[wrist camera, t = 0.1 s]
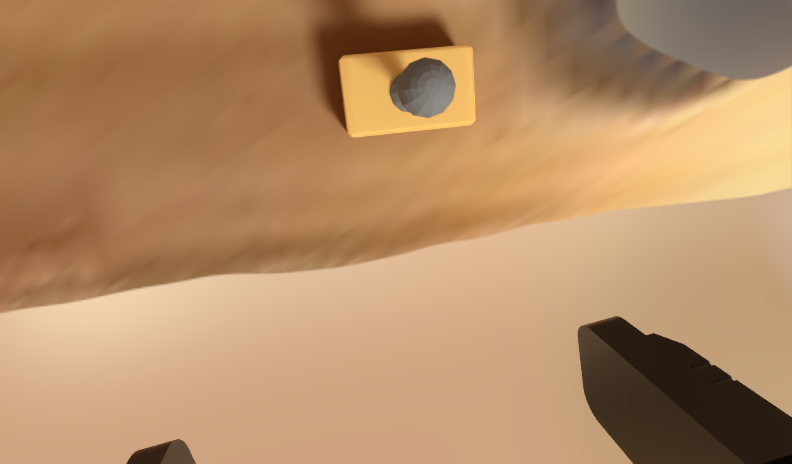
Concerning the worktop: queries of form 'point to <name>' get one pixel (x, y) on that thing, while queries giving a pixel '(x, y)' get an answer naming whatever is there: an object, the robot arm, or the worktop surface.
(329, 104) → the worktop surface
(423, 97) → the rubber stamp
